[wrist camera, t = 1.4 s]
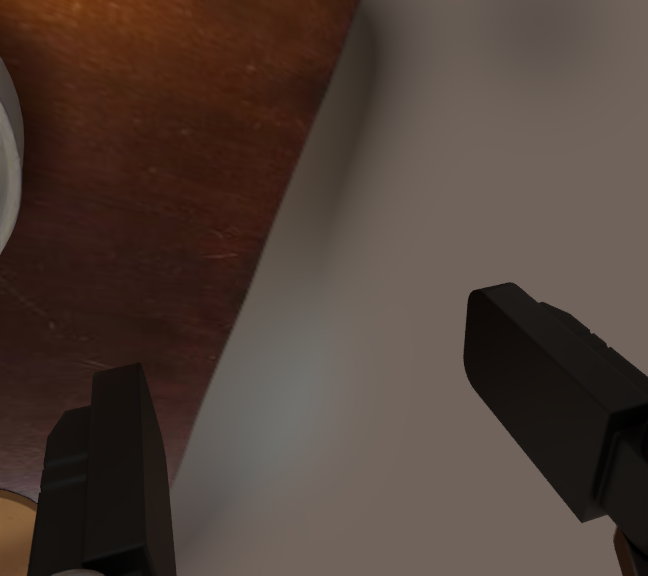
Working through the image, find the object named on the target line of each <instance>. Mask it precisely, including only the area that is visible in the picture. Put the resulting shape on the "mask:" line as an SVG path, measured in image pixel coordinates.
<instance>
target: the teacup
mask: <svg viewBox="0 0 648 576" xmlns="http://www.w3.org/2000/svg"><path fill="white" fill-rule="evenodd" d="M23 153H24V129H23V119H22V114H21V109H20V104H19V99H18V96H17V93H16V90H15V87H14V84H13V82H12V79H11V76H10V74H9V72H8V70H7V68H6V66H5V64H4V62H3V60H2V58H1V57H0V254H1V252H2V250H3V248H4V247H5V245H6V243H7V241H8V239H9V238H10V236H11V233H12V231H13V228H14V226H15V224H16V220H17V217H18V213H19V209H20V204H21V198H22V166H23Z"/></svg>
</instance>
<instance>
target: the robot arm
mask: <svg viewBox="0 0 648 576" xmlns="http://www.w3.org/2000/svg"><path fill="white" fill-rule="evenodd" d="M467 305H468V306H467V317H466V330H465V343H464V357H463V358H464V367H465V371H466V374H467V377H468V380H469V381H470V384H471V385H472V387H473V388H474V390H475V391H476V392H477V393H478V395H479V396H480V397H481V398H482V400H483V401H484V402H485V403H486V405H487V406H488V407H489V408H490V410H491V411H492V412H493V413H494V415H495V416H496V417H497V418H498V420H499V421H500V422H501V423H502V425H503V426H504V427H505V428H506V430H507V431H508V432H509V433H510V435H511V436H512V437H513V438H514V439H515V441H516V442H517V443H518V445H519V446H520V447H521V448H522V449H523V451H524V452H525V453H526V454H527V456H528V457H529V458H530V459H531V461H532V462H533V463H534V464H535V466H536V467H537V468H538V469H539V471H540V472H541V473H542V474H543V476H544V477H545V478H546V479H547V481H548V482H549V483H550V484H551V485H552V487H553V488H554V489H555V491H556V492H557V493H558V494H559V495H560V497H561V498H562V499H563V501H564V502H565V503H566V504H567V505H568V507H569V508H570V509H571V510H572V512H573V513H574V514H575V515H576V517H577V518H578V519H579V520H580V522H581V523H583V522H587V521H590V520H593V519H596V518H599V517H602V516H605V515H609V517H610V518H611V519H612V520H613V521H614V522H615V524H616V529H615V532H614V536H613V542H614V547H615V551H616V554H617V558H618V561H619V565H620V568H621V571H622V575H623V576H648V377H647V376H646V375H645V374H643V373H642V372H641V371H640V370H639V369H637V368H636V367H635V366H634V365H632V364H631V363H630V362H629V361H627V360H626V359H625V358H624V357H622V356H621V355H620V354H619V353H617V352H616V351H615V350H614V349H613V348H611V347H609V348H608V347H607V345H606V343H605V342H604V341H603V340H602V339H600V338H599V337H598V336H597V335H595V334H594V333H593V334H591V333H590V330H589V329H588V328H587V327H585V326H584V325H583V324H582V323H581V322H579V321H578V320H577V319H576V318H574V317H573V316H572V315H571V314H569V313H567V312H564V311H562V310H560V309H558V308H555V307H553V306H551V305H549V304H547V303H544V302H540V303H538V302H536V301H535V300H534V299H533V298H532V297H530V296H529V295H528V294H527V293H526V292H525V291H523V290H522V289H521V288H520V287H519V286H517V285H516V284H514V283H510V282H509V283H505V284H500V285H496V286H491V287H486V288H482V289H478V290H473V291H472V292H471V293H470V295H469V298H468V304H467ZM40 488H41V493H39V498H38V505H37V511H36V518H35V525H34V531H33V538H32V544H31V551H30V558H29V564H28V571H27V576H176V564H175V553H174V541H173V530H172V520H171V508H170V496H169V485H168V474H167V464H166V456H165V450H164V445H163V440H162V436H161V431H160V428H159V424H158V420H157V417H156V413H155V410H154V406H153V402H152V399H151V395H150V392H149V388H148V384H147V381H146V377H145V374H144V370H143V367H142V365H141V363H136V364H132V365H127V366H123V367H118V368H114V369H109V370H104V371H100V372H95V373H94V375H93V383H92V398H91V405H90V406H86V407H81V408H77V409H73V410H68V411H65V412H64V414H63V415H62V417H61V418H60V420H59V421H58V423H57V424H56V426H55V427H54V429H53V430H52V432H51V433H50V435H49V436H48V438H47V445H46V452H45V458H44V470H43V471H42V478H41V485H40Z"/></svg>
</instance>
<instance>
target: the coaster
mask: <svg viewBox="0 0 648 576" xmlns="http://www.w3.org/2000/svg"><path fill="white" fill-rule="evenodd" d="M36 511H37V504H36V503H34V502H33V501H31V500H29V499H27V498H25V497H23V496H21V495H18V494H15V493H12V492H9V491H4V490H0V576H27V571H28V564H29V558H30V551H31V544H32V538H33V531H34V525H35V518H36Z"/></svg>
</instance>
